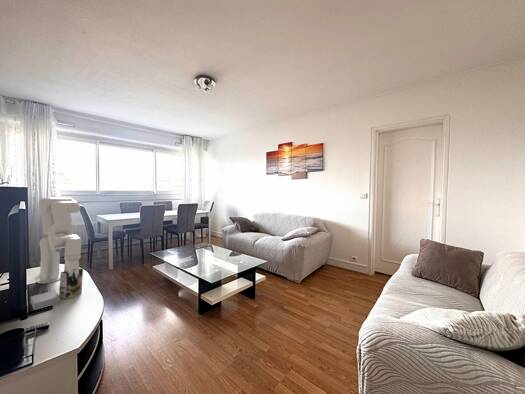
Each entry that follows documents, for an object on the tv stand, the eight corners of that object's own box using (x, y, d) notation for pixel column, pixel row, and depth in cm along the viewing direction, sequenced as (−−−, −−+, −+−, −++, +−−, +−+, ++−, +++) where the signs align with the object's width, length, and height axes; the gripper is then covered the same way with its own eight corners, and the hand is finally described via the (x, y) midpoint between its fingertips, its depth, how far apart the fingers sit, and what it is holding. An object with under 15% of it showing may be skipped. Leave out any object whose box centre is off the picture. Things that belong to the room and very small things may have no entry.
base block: (30, 304, 119) (30, 296, 119) (54, 298, 128) (54, 290, 127) (34, 312, 113) (34, 303, 113) (59, 304, 121) (59, 296, 121)
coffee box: (66, 299, 127) (67, 273, 126) (58, 297, 128) (59, 272, 127) (82, 292, 136) (83, 268, 135) (74, 291, 137) (75, 267, 136)
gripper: (60, 254, 132) (58, 281, 133) (69, 261, 123) (68, 290, 124) (75, 252, 139) (74, 278, 139) (85, 258, 130) (84, 285, 130)
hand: (71, 283), depth 131 cm, fingers closed on coffee box, 8 cm apart
